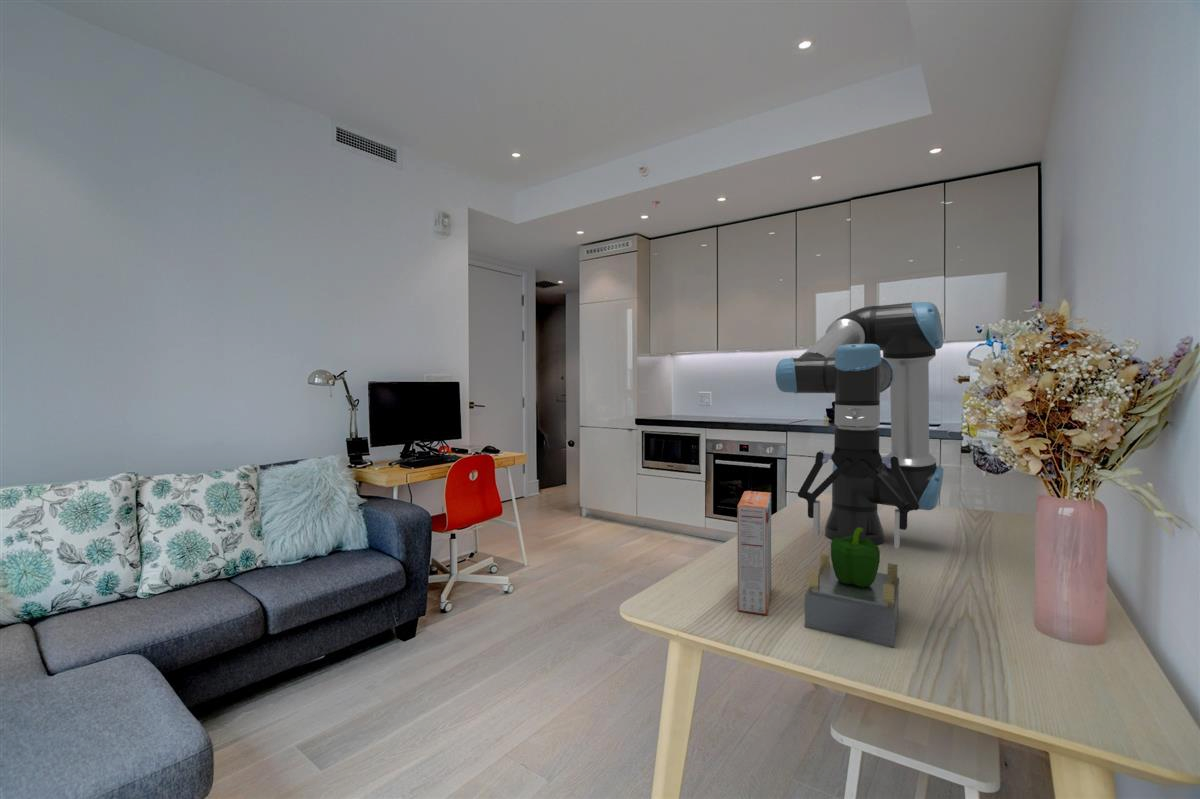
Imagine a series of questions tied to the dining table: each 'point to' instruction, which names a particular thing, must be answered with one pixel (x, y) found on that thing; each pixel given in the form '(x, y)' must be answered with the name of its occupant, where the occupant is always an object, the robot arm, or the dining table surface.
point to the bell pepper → (855, 559)
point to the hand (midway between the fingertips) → (855, 540)
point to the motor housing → (853, 605)
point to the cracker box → (754, 552)
